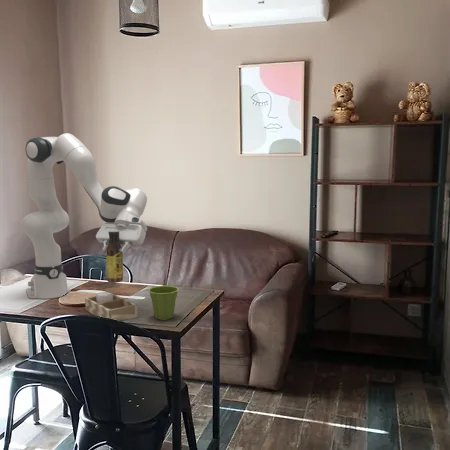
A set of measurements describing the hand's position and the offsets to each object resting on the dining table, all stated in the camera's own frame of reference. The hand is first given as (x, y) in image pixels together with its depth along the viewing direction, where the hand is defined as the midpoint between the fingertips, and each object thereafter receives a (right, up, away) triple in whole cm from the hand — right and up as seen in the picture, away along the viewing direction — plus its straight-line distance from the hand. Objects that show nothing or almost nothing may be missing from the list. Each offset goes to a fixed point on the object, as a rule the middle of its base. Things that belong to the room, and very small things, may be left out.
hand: (113, 251), depth 195 cm
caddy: (-3, -25, +8) cm, 27 cm away
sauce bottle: (0, -12, +2) cm, 12 cm away
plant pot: (+19, -26, +3) cm, 33 cm away
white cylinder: (-6, -25, +12) cm, 29 cm away
